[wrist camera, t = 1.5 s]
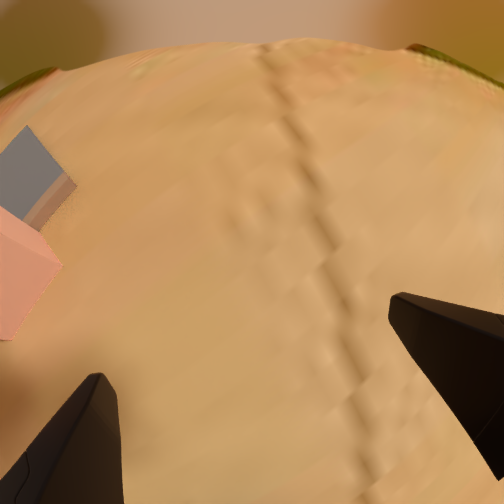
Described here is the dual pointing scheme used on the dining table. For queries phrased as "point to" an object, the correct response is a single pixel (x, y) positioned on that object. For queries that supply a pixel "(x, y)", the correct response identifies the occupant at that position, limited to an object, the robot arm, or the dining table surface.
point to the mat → (31, 180)
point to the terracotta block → (21, 271)
